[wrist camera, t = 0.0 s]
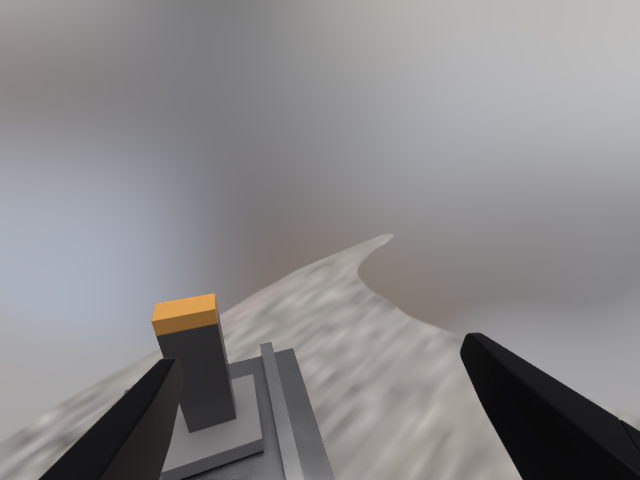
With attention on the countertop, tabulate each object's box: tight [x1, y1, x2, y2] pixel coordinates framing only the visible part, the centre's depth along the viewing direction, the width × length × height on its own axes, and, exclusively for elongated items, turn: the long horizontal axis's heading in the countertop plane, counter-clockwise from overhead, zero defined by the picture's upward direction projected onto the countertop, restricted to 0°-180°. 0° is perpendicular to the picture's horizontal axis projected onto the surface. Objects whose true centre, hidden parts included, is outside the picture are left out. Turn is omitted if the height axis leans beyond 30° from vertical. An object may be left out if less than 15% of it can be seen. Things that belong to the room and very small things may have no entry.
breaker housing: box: [124, 342, 335, 480], centre depth 19 cm, size 15×14×4 cm
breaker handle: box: [152, 293, 264, 480], centre depth 18 cm, size 5×6×11 cm
